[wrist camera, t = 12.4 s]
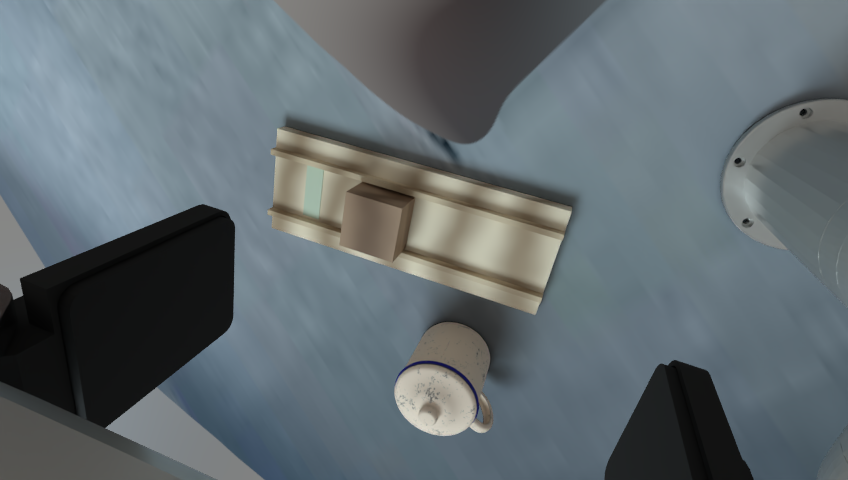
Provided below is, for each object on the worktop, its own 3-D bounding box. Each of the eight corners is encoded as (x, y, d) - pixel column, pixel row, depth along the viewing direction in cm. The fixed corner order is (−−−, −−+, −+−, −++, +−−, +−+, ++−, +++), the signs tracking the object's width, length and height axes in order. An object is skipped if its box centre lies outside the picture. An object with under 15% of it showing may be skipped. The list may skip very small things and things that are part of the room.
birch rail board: (572, 206, 46) (571, 215, 44) (536, 308, 51) (534, 319, 49) (285, 126, 53) (272, 129, 50) (278, 223, 58) (266, 230, 56)
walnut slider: (415, 197, 49) (402, 208, 46) (405, 247, 52) (392, 262, 48) (362, 181, 50) (346, 191, 47) (355, 231, 53) (339, 245, 49)
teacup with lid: (404, 344, 59) (366, 407, 48) (454, 304, 54) (424, 365, 44) (471, 411, 59) (447, 488, 49) (526, 377, 55) (512, 454, 45)
